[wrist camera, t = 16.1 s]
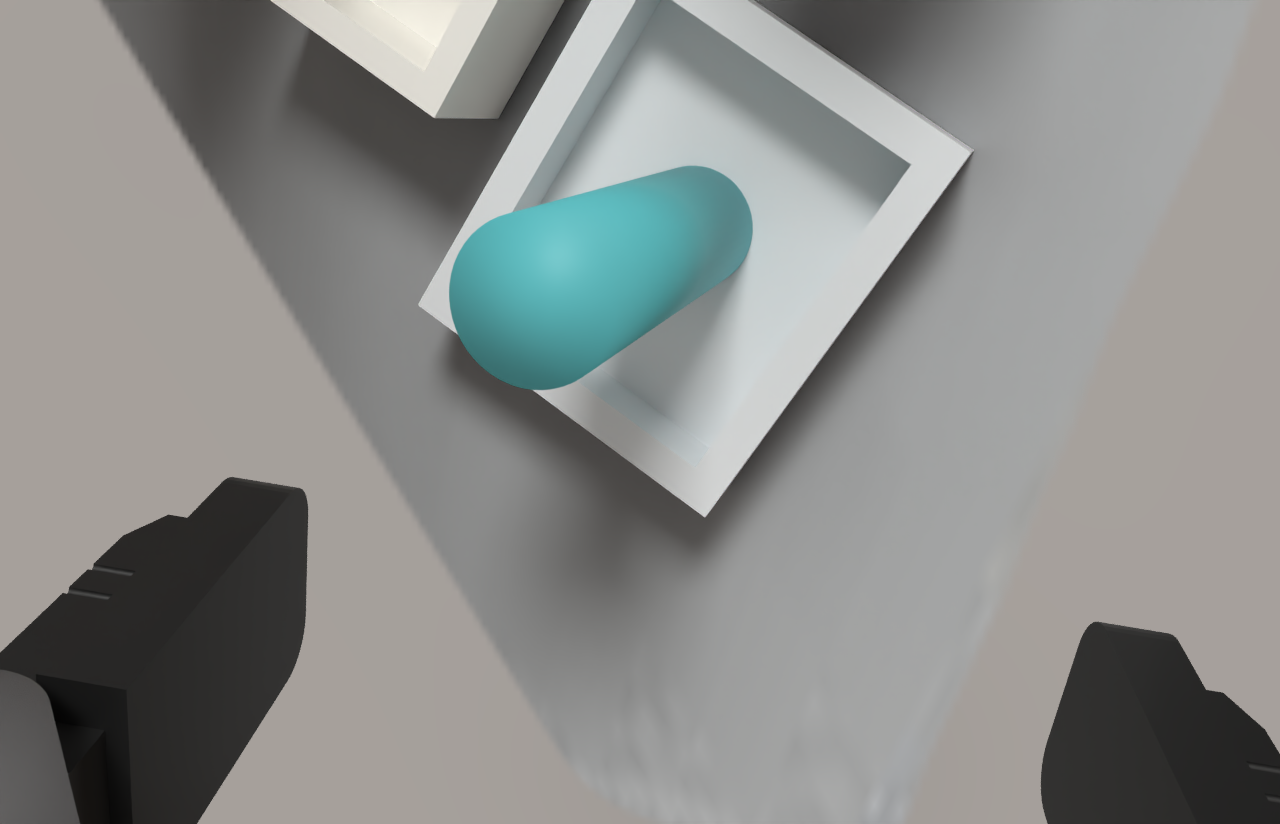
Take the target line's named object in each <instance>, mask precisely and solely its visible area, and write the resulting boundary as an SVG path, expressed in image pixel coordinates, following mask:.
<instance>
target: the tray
mask: <svg viewBox="0 0 1280 824" xmlns="http://www.w3.org/2000/svg"><path fill="white" fill-rule="evenodd" d="M973 151H974V150H973V149H972V148H970V147H969V146H967V145H966V144H964V143H963V142H961V141H960V140H958V139H957V138H955V137H954V136H952V135H951V134H950V133H948V132H947V131H945V130H944V129H942V128H941V127H939V126H938V125H936V124H935V123H933V122H932V121H930V120H929V119H928V118H926V117H925V116H923V115H922V114H920V113H919V112H917V111H916V110H914V109H913V108H911V107H910V106H908V105H907V104H905V103H904V102H903V101H901V100H900V99H898V98H897V97H895V96H894V95H892V94H891V93H889V92H888V91H886V90H885V89H883V88H882V87H881V86H879V85H878V84H876V83H875V82H873V81H872V80H870V79H869V78H867V77H866V76H864V75H863V74H861V73H860V72H859V71H857V70H856V69H854V68H853V67H851V66H850V65H848V64H847V63H845V62H844V61H842V60H841V59H839V58H838V57H836V56H835V55H834V54H832V53H831V52H829V51H828V50H826V49H825V48H823V47H822V46H820V45H819V44H817V43H816V42H814V41H813V40H812V39H810V38H809V37H807V36H806V35H804V34H803V33H801V32H800V31H798V30H797V29H795V28H794V27H792V26H791V25H790V24H788V23H787V22H785V21H784V20H782V19H781V18H779V17H778V16H776V15H775V14H773V13H772V12H770V11H769V10H767V9H766V8H765V7H763V6H762V5H760V4H759V3H757V2H756V1H754V0H591V2H590V4H589V6H588V7H587V9H586V11H585V13H584V14H583V16H582V18H581V20H580V21H579V23H578V25H577V27H576V28H575V30H574V32H573V34H572V35H571V37H570V39H569V41H568V42H567V44H566V46H565V48H564V49H563V51H562V53H561V55H560V56H559V58H558V60H557V62H556V63H555V65H554V67H553V69H552V70H551V72H550V74H549V76H548V78H547V79H546V81H545V83H544V85H543V86H542V88H541V90H540V92H539V93H538V95H537V97H536V99H535V100H534V102H533V104H532V106H531V107H530V109H529V111H528V113H527V114H526V116H525V118H524V120H523V121H522V123H521V125H520V127H519V128H518V130H517V132H516V134H515V135H514V137H513V139H512V141H511V142H510V144H509V146H508V148H507V149H506V151H505V153H504V155H503V156H502V158H501V160H500V162H499V164H498V165H497V167H496V169H495V171H494V172H493V174H492V176H491V178H490V179H489V181H488V183H487V185H486V186H485V188H484V190H483V192H482V193H481V195H480V197H479V199H478V200H477V202H476V204H475V206H474V207H473V209H472V211H471V213H470V214H469V216H468V218H467V220H466V221H465V223H464V225H463V227H462V228H461V230H460V232H459V234H458V235H457V237H456V239H455V241H454V242H453V244H452V246H451V248H450V250H449V251H448V253H447V255H446V257H445V258H444V260H443V262H442V264H441V265H440V267H439V269H438V271H437V272H436V274H435V276H434V278H433V279H432V281H431V283H430V285H429V286H428V288H427V290H426V292H425V293H424V295H423V297H422V299H421V300H420V302H419V304H418V306H420V307H421V308H423V309H424V310H425V311H427V312H428V313H429V314H431V315H432V316H433V317H435V318H436V319H437V320H439V321H440V322H441V323H443V324H444V325H446V326H447V327H448V328H450V329H451V330H452V331H454V332H455V333H456V334H458V333H457V331H456V328H455V325H454V322H453V319H452V315H451V310H450V302H449V284H450V277H451V272H452V269H453V265H454V262H455V260H456V258H457V255H458V253H459V251H460V250H461V248H462V246H463V245H464V243H465V242H466V241H467V239H468V238H469V237H470V236H471V235H472V234H473V233H474V232H475V231H476V230H477V229H478V228H479V227H481V226H482V225H484V224H485V223H487V222H488V221H490V220H492V219H494V218H496V217H498V216H502V215H505V214H508V213H511V212H515V211H519V210H523V209H526V208H530V207H534V206H537V205H541V204H545V203H548V202H552V201H556V200H559V199H563V198H567V197H571V196H574V195H578V194H582V193H585V192H589V191H593V190H596V189H600V188H604V187H607V186H611V185H615V184H618V183H622V182H626V181H630V180H633V179H637V178H641V177H644V176H648V175H652V174H655V173H659V172H663V171H666V170H670V169H674V168H677V167H682V166H703V167H707V168H711V169H713V170H716V171H718V172H720V173H722V174H723V175H725V176H726V177H728V178H729V179H730V180H732V181H733V182H734V183H735V184H736V185H737V187H738V188H739V189H740V191H741V192H742V193H743V195H744V197H745V198H746V201H747V203H748V205H749V208H750V212H751V215H752V222H753V233H752V240H751V245H750V248H749V251H748V253H747V255H746V257H745V259H744V261H743V262H742V264H741V265H740V266H739V268H738V269H737V270H736V271H735V272H734V273H733V274H731V275H730V276H729V277H728V278H726V279H725V280H723V281H722V282H720V283H719V284H718V285H716V286H715V287H713V288H712V289H710V290H709V291H707V292H706V293H704V294H703V295H702V296H700V297H699V298H697V299H696V300H694V301H693V302H691V303H690V304H688V305H687V306H686V307H684V308H683V309H681V310H680V311H678V312H677V313H675V314H674V315H672V316H671V317H669V318H668V319H667V320H665V321H664V322H662V323H661V324H659V325H658V326H656V327H655V328H653V329H652V330H651V331H649V332H648V333H646V334H645V335H643V336H642V337H640V338H639V339H637V340H636V341H635V342H633V343H632V344H630V345H629V346H627V347H626V348H624V349H623V350H621V351H620V352H619V353H617V354H616V355H614V356H613V357H611V358H610V359H608V360H607V361H605V362H604V363H603V364H601V365H600V366H598V367H597V368H595V369H594V370H592V371H591V372H589V373H588V374H587V375H585V376H584V377H582V378H580V379H579V380H577V381H575V382H574V383H571V384H569V385H566V386H564V387H560V388H556V389H549V390H533V391H535V392H536V393H537V394H539V395H540V396H541V397H543V398H544V399H545V400H547V401H548V402H549V403H551V404H552V405H554V406H555V407H556V408H558V409H559V410H560V411H562V412H563V413H564V414H566V415H567V416H568V417H570V418H571V419H572V420H574V421H575V422H576V423H578V424H579V425H581V426H582V427H583V428H585V429H586V430H587V431H589V432H590V433H591V434H593V435H594V436H595V437H597V438H598V439H599V440H601V441H602V442H603V443H605V444H606V445H608V446H609V447H610V448H612V449H613V450H614V451H616V452H617V453H618V454H620V455H621V456H622V457H624V458H625V459H626V460H628V461H629V462H631V463H632V464H633V465H635V466H636V467H637V468H639V469H640V470H641V471H643V472H644V473H645V474H647V475H648V476H649V477H651V478H652V479H653V480H655V481H656V482H658V483H659V484H660V485H662V486H663V487H664V488H666V489H667V490H668V491H670V492H671V493H672V494H674V495H675V496H676V497H678V498H679V499H680V500H682V501H683V502H685V503H686V504H687V505H689V506H690V507H691V508H693V509H694V510H695V511H697V512H698V513H699V514H701V515H702V516H703V517H706V516H707V514H708V513H709V512H710V510H711V509H712V508H713V507H714V505H715V504H716V503H717V501H718V500H719V499H720V497H721V496H722V495H723V493H724V492H725V491H726V490H727V488H728V487H729V486H730V484H731V483H732V481H733V480H734V479H735V477H736V476H737V475H738V473H739V472H740V470H741V469H742V468H743V466H744V465H745V464H746V462H747V461H748V460H749V458H750V457H751V455H752V454H753V453H754V451H755V450H756V449H757V447H758V446H759V444H760V443H761V442H762V440H763V439H764V438H765V436H766V435H767V433H768V432H769V431H770V429H771V428H772V427H773V425H774V424H775V423H776V421H777V420H778V418H779V417H780V416H781V414H782V413H783V412H784V410H785V409H786V407H787V406H788V405H789V403H790V402H791V401H792V399H793V398H794V396H795V395H796V394H797V392H798V391H799V390H800V388H801V387H802V386H803V384H804V383H805V381H806V380H807V379H808V377H809V376H810V375H811V373H812V372H813V370H814V369H815V368H816V366H817V365H818V364H819V362H820V361H821V359H822V358H823V357H824V355H825V354H826V353H827V351H828V350H829V349H830V347H831V346H832V344H833V343H834V342H835V340H836V339H837V338H838V336H839V335H840V333H841V332H842V331H843V329H844V328H845V327H846V325H847V324H848V322H849V321H850V320H851V318H852V317H853V316H854V314H855V313H856V312H857V310H858V309H859V307H860V306H861V305H862V303H863V302H864V301H865V299H866V298H867V296H868V295H869V294H870V292H871V291H872V290H873V288H874V287H875V286H876V284H877V283H878V281H879V280H880V279H881V277H882V276H883V275H884V273H885V272H886V270H887V269H888V268H889V266H890V265H891V264H892V262H893V261H894V259H895V258H896V257H897V255H898V254H899V253H900V251H901V250H902V249H903V247H904V246H905V244H906V243H907V242H908V240H909V239H910V238H911V236H912V235H913V233H914V232H915V231H916V229H917V228H918V227H919V225H920V224H921V222H922V221H923V220H924V218H925V217H926V216H927V214H928V213H929V212H930V210H931V209H932V207H933V206H934V205H935V203H936V202H937V201H938V199H939V198H940V196H941V195H942V194H943V192H944V191H945V190H946V188H947V187H948V185H949V184H950V183H951V181H952V180H953V179H954V177H955V176H956V175H957V173H958V172H959V170H960V169H961V168H962V166H963V165H964V164H965V162H966V161H967V159H968V158H969V157H970V155H971V154H972V153H973Z"/></svg>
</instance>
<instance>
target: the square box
mask: <svg viewBox="0 0 1280 824" xmlns="http://www.w3.org/2000/svg"><path fill="white" fill-rule="evenodd" d="M271 1H272V2H273V3H275V4H276V5H277V6H279V7H280V8H282V9H283V10H284V11H286V12H287V13H289V14H290V15H291V16H293V17H294V18H296V19H297V20H298V21H300V22H301V23H303V24H304V25H305V26H307V27H308V28H309V29H311V30H312V31H314V32H315V33H316V34H318V35H319V36H321V37H322V38H323V39H325V40H326V41H328V42H329V43H330V44H332V45H333V46H335V47H336V48H337V49H339V50H340V51H342V52H343V53H344V54H346V55H347V56H348V57H350V58H351V59H353V60H354V61H355V62H357V63H358V64H360V65H361V66H362V67H364V68H365V69H367V70H368V71H369V72H371V73H372V74H374V75H375V76H376V77H378V78H379V79H380V80H382V81H383V82H385V83H386V84H387V85H389V86H390V87H392V88H393V89H394V90H396V91H397V92H399V93H400V94H401V95H403V96H404V97H406V98H407V99H408V100H410V101H411V102H412V103H414V104H415V105H417V106H418V107H419V108H421V109H422V110H424V111H425V112H426V113H428V114H429V115H431V116H432V117H433V118H470V119H498V118H499V116H500V115H501V113H502V111H503V109H504V108H505V106H506V104H507V102H508V100H509V99H510V97H511V95H512V93H513V92H514V90H515V88H516V86H517V84H518V83H519V81H520V79H521V77H522V75H523V74H524V72H525V70H526V68H527V67H528V65H529V63H530V61H531V59H532V58H533V56H534V54H535V52H536V51H537V49H538V47H539V45H540V43H541V42H542V40H543V38H544V36H545V34H546V33H547V31H548V29H549V27H550V26H551V24H552V22H553V20H554V18H555V17H556V15H557V13H558V11H559V10H560V8H561V6H562V4H563V2H564V1H565V0H271Z"/></svg>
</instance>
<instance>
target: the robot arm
mask: <svg viewBox="0 0 1280 824" xmlns="http://www.w3.org/2000/svg"><path fill="white" fill-rule="evenodd" d="M307 532H308V504H307V498H306V495H305V492H304V491H303V490H302V489H300V488H295V487H289V486H283V485H277V484H271V483H265V482H259V481H253V480H247V479H241V478H234V477H230V478H227V479H226V480H224V481H223V482H222V483H221V484H220V485H219V486H218V487H217V488H216V489H215V490H214V491H213V492H212V493H211V494H210V495H209V496H208V497H207V498H206V499H205V500H204V501H203V502H202V503H201V505H200V506H199V507H198V508H197V509H196V510H195V511H194V512H193V513H192V514H191V515H190V516H189V517H188V518H184V517H179V516H173V515H167V516H165V517H163V518H160V519H158V520H156V521H154V522H152V523H150V524H148V525H145V526H143V527H141V528H139V529H137V530H134V531H132V532H130V533H128V534H126V535H124V536H122V537H121V538H120V539H119V540H118V541H117V542H116V543H115V544H114V545H113V546H112V547H111V548H110V549H109V550H108V551H107V552H106V553H104V554H103V555H102V556H101V557H100V558H99V559H98V560H97V561H96V562H95V563H94V567H93V569H92V570H87V571H86V572H85V573H84V574H82V575H81V576H80V577H79V578H78V579H77V580H76V581H75V582H74V583H73V584H72V585H71V586H70V587H69V592H68V594H65V593H62V595H60V596H59V597H58V598H57V599H56V600H55V601H54V602H53V603H52V604H51V605H50V606H49V607H48V608H47V609H46V610H45V611H44V612H42V613H41V614H40V616H38V618H36V619H35V620H34V621H33V622H32V623H31V624H30V625H29V626H28V627H27V628H26V629H25V630H24V631H23V632H21V634H19V635H18V636H17V637H16V638H15V639H14V640H13V641H12V642H11V643H10V644H9V645H8V646H7V647H6V648H5V649H4V650H3V651H2V652H0V824H197V823H198V821H199V819H200V818H201V816H202V814H203V813H204V812H205V810H206V808H207V807H208V805H209V804H210V802H211V801H212V799H213V797H214V796H215V794H216V793H217V791H218V789H219V788H220V786H221V785H222V783H223V782H224V780H225V778H226V777H227V775H228V774H229V772H230V771H231V769H232V767H233V766H234V764H235V763H236V761H237V760H238V758H239V756H240V755H241V753H242V752H243V750H244V748H245V747H246V745H247V744H248V742H249V740H250V739H251V737H252V736H253V734H254V733H255V731H256V730H257V728H258V726H259V725H260V723H261V722H262V720H263V719H264V717H265V715H266V714H267V712H268V711H269V709H270V708H271V706H272V704H273V703H274V701H275V700H276V698H277V697H278V695H279V693H280V692H281V690H282V689H283V687H284V685H285V684H286V682H287V681H288V679H289V677H290V675H291V673H292V671H293V669H294V666H295V664H296V661H297V658H298V655H299V652H300V648H301V644H302V640H303V634H304V628H305V617H306V577H307V535H308V533H307ZM1041 796H1042V804H1043V809H1044V813H1045V816H1046V820H1047V823H1048V824H1280V754H1279V752H1278V750H1277V749H1276V747H1275V745H1274V744H1273V742H1272V740H1271V739H1270V737H1269V736H1268V734H1267V732H1266V731H1265V729H1264V728H1262V727H1261V726H1260V725H1259V724H1258V723H1257V722H1256V721H1255V720H1253V719H1252V718H1251V717H1250V716H1249V715H1248V714H1246V713H1245V712H1244V711H1243V710H1242V709H1241V708H1240V707H1239V706H1238V705H1236V704H1235V703H1234V702H1233V701H1232V700H1231V699H1230V698H1228V697H1227V696H1226V695H1225V694H1224V693H1221V692H1215V691H1209V690H1206V689H1205V687H1204V686H1203V684H1202V682H1201V680H1200V678H1199V677H1198V675H1197V673H1196V671H1195V670H1194V668H1193V666H1192V664H1191V662H1190V661H1189V659H1188V657H1187V655H1186V654H1185V652H1184V650H1183V648H1182V647H1181V645H1180V643H1179V641H1178V640H1177V639H1176V637H1174V636H1173V635H1171V634H1168V633H1162V632H1156V631H1150V630H1144V629H1138V628H1132V627H1126V626H1120V625H1114V624H1107V623H1102V622H1093V623H1092V624H1090V625H1089V626H1088V627H1087V629H1086V630H1085V632H1084V634H1083V636H1082V638H1081V640H1080V643H1079V646H1078V649H1077V652H1076V655H1075V658H1074V661H1073V664H1072V668H1071V671H1070V674H1069V677H1068V680H1067V683H1066V686H1065V689H1064V692H1063V695H1062V698H1061V701H1060V704H1059V707H1058V710H1057V713H1056V717H1055V720H1054V723H1053V726H1052V729H1051V732H1050V735H1049V738H1048V741H1047V745H1046V748H1045V752H1044V757H1043V764H1042V772H1041Z"/></svg>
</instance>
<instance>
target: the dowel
mask: <svg viewBox="0 0 1280 824" xmlns="http://www.w3.org/2000/svg"><path fill="white" fill-rule="evenodd" d="M752 233H753V222H752V215H751V212H750V208H749V205H748V203H747V201H746V198H745V197H744V195H743V193H742V192H741V191H740V189H739V188H738V187H737V185H736V184H735V183H734V182H733V181H732V180H730V179H729V178H728V177H726V176H725V175H723V174H722V173H720V172H718V171H716V170H713V169H711V168H707V167H703V166H682V167H677V168H674V169H670V170H666V171H663V172H659V173H655V174H652V175H648V176H644V177H641V178H637V179H633V180H630V181H626V182H622V183H618V184H615V185H611V186H607V187H604V188H600V189H596V190H593V191H589V192H585V193H582V194H578V195H574V196H571V197H567V198H563V199H559V200H556V201H552V202H548V203H545V204H541V205H537V206H534V207H530V208H526V209H523V210H519V211H515V212H511V213H508V214H505V215H502V216H498V217H496V218H494V219H492V220H490V221H488V222H487V223H485V224H484V225H482V226H481V227H479V228H478V229H477V230H476V231H475V232H474V233H473V234H472V235H471V236H470V237H469V238H468V239H467V241H466V242H465V243H464V245H463V246H462V248H461V250H460V251H459V253H458V255H457V258H456V260H455V262H454V265H453V269H452V272H451V277H450V284H449V302H450V310H451V315H452V319H453V322H454V325H455V328H456V331H457V333H458V335H459V337H460V340H461V341H462V343H463V345H464V346H465V348H466V349H467V351H468V352H469V353H470V355H471V356H472V357H473V359H474V360H475V361H476V362H477V363H478V364H479V365H480V366H481V367H482V368H484V369H485V370H486V371H487V372H489V373H490V374H491V375H493V376H495V377H496V378H498V379H499V380H501V381H503V382H506V383H508V384H510V385H513V386H516V387H519V388H524V389H530V390H549V389H556V388H560V387H564V386H566V385H569V384H571V383H574V382H575V381H577V380H579V379H580V378H582V377H584V376H585V375H587V374H588V373H589V372H591V371H592V370H594V369H595V368H597V367H598V366H600V365H601V364H603V363H604V362H605V361H607V360H608V359H610V358H611V357H613V356H614V355H616V354H617V353H619V352H620V351H621V350H623V349H624V348H626V347H627V346H629V345H630V344H632V343H633V342H635V341H636V340H637V339H639V338H640V337H642V336H643V335H645V334H646V333H648V332H649V331H651V330H652V329H653V328H655V327H656V326H658V325H659V324H661V323H662V322H664V321H665V320H667V319H668V318H669V317H671V316H672V315H674V314H675V313H677V312H678V311H680V310H681V309H683V308H684V307H686V306H687V305H688V304H690V303H691V302H693V301H694V300H696V299H697V298H699V297H700V296H702V295H703V294H704V293H706V292H707V291H709V290H710V289H712V288H713V287H715V286H716V285H718V284H719V283H720V282H722V281H723V280H725V279H726V278H728V277H729V276H730V275H731V274H733V273H734V272H735V271H736V270H737V269H738V268H739V266H740V265H741V264H742V262H743V261H744V259H745V257H746V255H747V253H748V251H749V248H750V245H751V240H752Z"/></svg>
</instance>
